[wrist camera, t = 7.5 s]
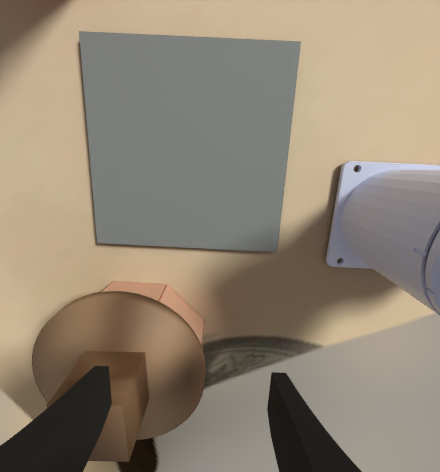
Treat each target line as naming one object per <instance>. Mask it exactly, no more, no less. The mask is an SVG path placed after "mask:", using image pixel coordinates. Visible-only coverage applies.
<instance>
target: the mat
mask: <svg viewBox="0 0 440 472" xmlns="http://www.w3.org/2000/svg"><path fill="white" fill-rule="evenodd" d="M79 38H80V50H81V61H82V73H83V85H84V96H85V108H86V119H87V131H88V143H89V154H90V166H91V178H92V189H93V201H94V213H95V224H96V236H97V243H104V244H124V245H144V246H164V247H184V248H204V249H224V250H244V251H264V252H277V248H278V239H279V230H280V221H281V212H282V203H283V195H284V186H285V177H286V168H287V159H288V150H289V141H290V132H291V123H292V115H293V106H294V97H295V88H296V79H297V70H298V61H299V52H300V44H301V42H297V41H276V40H254V39H233V38H211V37H190V36H168V35H147V34H125V33H104V32H82V31H79Z"/></svg>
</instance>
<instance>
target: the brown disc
mask: <svg viewBox="0 0 440 472" xmlns="http://www.w3.org/2000/svg"><path fill="white" fill-rule="evenodd" d="M94 366H109V374H110V386H111V398H112V404H111V407H110V410H109V413H108V416H107V419H106V422H105V424H104V427H103V430H102V432H101V434H100V436H99V439H98V441H97V443H96V445H95V447H94V449H93V451H92V454H91V456H90V458H89V460H88V461H118V462H129V460H130V457H131V454H132V451H133V448H134V445H135V442H136V440H142V439H148V438H152V437H156V436H159V435H162V434H165V433H167V432H169V431H171V430H173V429H175V428H176V427H178V426H179V425H180V424H182V423H183V422H184V421H185V420H186V419H188V418H189V416H190V415H191V414H192V413H193V412H194V410H195V409H196V407H197V405H198V404H199V401H200V399H201V397H202V393H203V389H204V382H205V370H206V364H205V356H204V352H203V348H202V346H201V343H200V341H199V339H198V337H197V335H196V334H195V332H194V330H193V329H192V328H191V327H190V325H189V324H188V323H187V322H186V321H185V320H184V319H183V318H182V317H181V316H180V315H179V314H178V313H176V312H175V311H174V310H173V309H171V308H170V307H168V306H166V305H165V304H163V303H161V302H159V301H157V300H155V299H152V298H150V297H147V296H144V295H140V294H136V293H131V292H123V291H105V292H99V293H93V294H90V295H86V296H83V297H81V298H79V299H77V300H74V301H73V302H71V303H70V304H68V305H66V306H65V307H64V308H63V309H62V310H60V311H59V312H58V313H57V314H56V315H55V316H54V317H52V318H51V319H50V320H49V321H48V322H47V323H46V325H45V326H44V327H43V328H42V330H41V331H40V333H39V335H38V337H37V339H36V342H35V345H34V348H33V354H32V367H33V374H34V377H35V381H36V384H37V386H38V388H39V390H40V392H41V394H42V395H43V397H44V398H45V400H46V401H47V402H48V403H47V408H48V407H50V406H51V405H52V404H53V403H54V402H55V401H56V400H57V399H59V398H60V397H61V396H62V395H63V394H64V393H65V392H67V391H68V390H69V389H70V388H71V387H72V386H73V385H74V384H75V383H76V382H78V381H79V380H80V379H81V378H82V377H83V376H84V375H85V374H86V373H87V372H88V371H90V370H91V369H92V368H93V367H94Z"/></svg>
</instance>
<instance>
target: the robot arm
mask: <svg viewBox="0 0 440 472" xmlns="http://www.w3.org/2000/svg"><path fill="white" fill-rule="evenodd" d="M356 165H357V166H358V171H357V172H355V171H354V167H355V166H356ZM339 258H341V259H342V260H341V262H339V263H337V260H338V259H339ZM326 263H327V264H328V265H329V266H331V267H346V268H366V269H374V270H375V271H377V272H378V273H380V274H381V275H383V276H384V277H386V278H387V279H388V280H390V281H391V282H393V283H394V284H396V285H397V286H398V287H400V288H401V289H403V290H404V291H406V292H407V293H409V294H410V295H411V296H413V297H414V298H416V299H417V300H419V301H420V302H421V303H423V304H424V305H426V306H427V307H429V308H430V309H432V310H433V311H434V312H436V313H437V314H439V315H440V165H423V164H403V163H382V162H361V161H347V162H345V163H344V164H343V165H342V167H341V172H340V178H339V184H338V190H337V196H336V202H335V208H334V214H333V220H332V226H331V232H330V237H329V243H328V249H327V255H326ZM111 404H112V398H111V386H110V374H109V366H94V367H93V368H92V369H91V370H90V371H88V372H87V373H86V374H85V375H84V376H83V377H82V378H81V379H80V380H79V381H78V382H76V383H75V384H74V385H73V386H72V387H71V388H70V389H69V390H68V391H67V392H65V393H64V394H63V395H62V396H61V397H60V398H59V399H57V400H56V401H55V402H54V403H53V404H52V405H51V406H50V407H48V408H47V409H46V410H45V411H44V412H43V413H41V414H40V415H39V416H38V417H36V418H35V419H34V420H33V421H32V422H31V423H29V424H28V425H27V426H26V427H24V428H23V429H22V430H21V431H20V432H18V433H17V434H15V435H14V436H13V437H12V438H10V439H9V440H8V441H7V442H5V443H4V444H2V445H1V446H0V472H83V470H84V468H85V466H86V464H87V462H88V460H89V458H90V456H91V454H92V451H93V449H94V447H95V445H96V443H97V441H98V439H99V436H100V434H101V432H102V430H103V427H104V424H105V422H106V419H107V416H108V413H109V410H110V407H111ZM267 410H268V417H269V425H270V432H271V438H272V442H273V447H274V451H275V455H276V459H277V464H278V468H279V472H361V470H360V469H359V468H358V467H357V466H356V465H355V464H354V463H353V462H352V461H351V459H350V458H349V457H348V456H347V455H346V454H345V453H344V451H343V450H342V449H341V448H340V447H339V446H338V444H337V443H336V442H335V441H334V440H333V438H332V437H331V436H330V435H329V433H328V432H327V431H326V430H325V428H324V427H323V426H322V424H321V423H320V422H319V420H318V419H317V418H316V416H315V415H314V414H313V412H312V411H311V409H310V408H309V407H308V406H307V404H306V402H305V401H304V400H303V398H302V397H301V395H300V394H299V392H298V391H297V389H296V388H295V386H294V385H293V383H292V381H291V380H290V378H289V377H288V376H287V374H286V373H273V372H272V375H271V383H270V391H269V400H268V409H267Z"/></svg>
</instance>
